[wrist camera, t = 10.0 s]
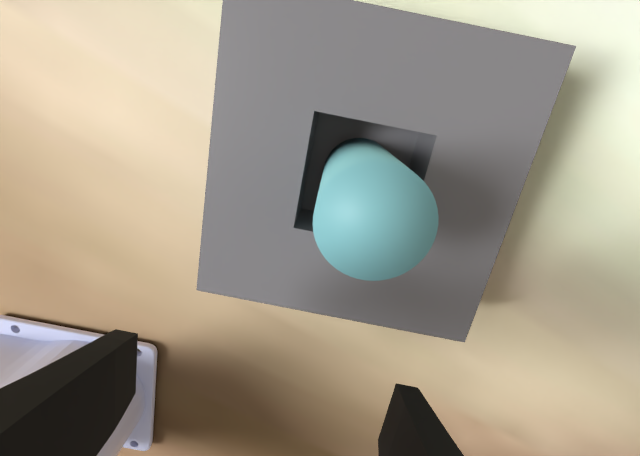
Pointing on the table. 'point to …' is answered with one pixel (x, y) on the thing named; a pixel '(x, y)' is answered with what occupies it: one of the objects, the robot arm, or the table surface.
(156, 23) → the table surface
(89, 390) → the robot arm
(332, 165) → the pin
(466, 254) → the socket block
